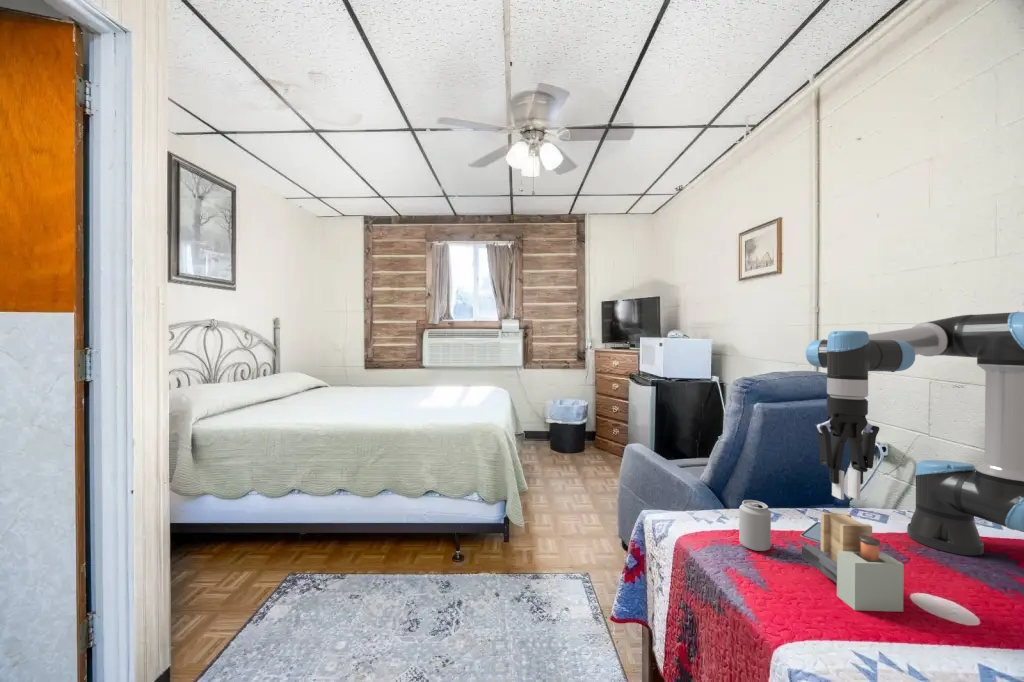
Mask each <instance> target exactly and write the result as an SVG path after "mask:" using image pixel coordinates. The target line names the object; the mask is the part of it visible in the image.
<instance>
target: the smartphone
mask: <svg viewBox="0 0 1024 682" xmlns="http://www.w3.org/2000/svg"><path fill="white" fill-rule="evenodd" d="M800 537H802V538H804V539H806V540H810V541H813V542H814V543H815V542H816V543H818V544H821V521H817V522H816V521H815V522H814V524H811V526H809V527H808V528H807V529H805V530H804V531H803V532H802V533H800Z"/></svg>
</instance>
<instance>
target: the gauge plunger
mask: <svg viewBox="0 0 1024 682" xmlns="http://www.w3.org/2000/svg"><path fill="white" fill-rule="evenodd" d="M859 540H860V541H861V551H860V555H861V557H863V558H865V559H867V560H871V561H878V560H879V552H880V547H879V546H880V545H881V540H879V539H878V538H876V537H874V536H872V537H870V536H865V535H861V536H859Z"/></svg>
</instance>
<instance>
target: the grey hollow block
mask: <svg viewBox="0 0 1024 682" xmlns="http://www.w3.org/2000/svg"><path fill="white" fill-rule="evenodd" d="M904 567H905V565H904V563H903V562H901V561H899V560H897V559H895V558H894V557H893V556H890V555H889V554H887V553H885V552H884V551H879V560H878V561H871V560H867V559H865V558H863V557H861V555H860V552H854V551H837V584H836V597H837V598H839V599H840V600H841V601H842V602H844V604H846V605H847V606H849V607H850V608H851V609H852V610H854V611H861V612H862V611H865V612H866V611H867V612H872V611H873V612H897V613H898V612H899V613H900V612H902V613H903V612H904V572H905V571H904V570H905V569H904Z"/></svg>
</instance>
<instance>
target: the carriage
mask: <svg viewBox="0 0 1024 682" xmlns="http://www.w3.org/2000/svg"><path fill="white" fill-rule="evenodd" d="M820 522H821V543H820V551H821V552H823V553H824V554H819V563H821V564H822V572H821V573H822V574H823V573H824V574H825V575H824V576H826V577H827V576H828V577H829V578H828V577H827V578H828V579H830V580H831V579H832V580H833V581H832V580H831V581H832V582H834V584H836V583H837V551H854V552H860V551H861V541H860V540H859V536H861V535H865V536H870V537H873V526H872V525H870V524H865V523H862V522H859V521H858V520H856V519H854V518H852V515H851V514H850V513H848V512H847V513H846V512H845V513H843V512H841V513H840V512H838V513H837V512H820ZM826 553H827V554H826Z"/></svg>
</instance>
